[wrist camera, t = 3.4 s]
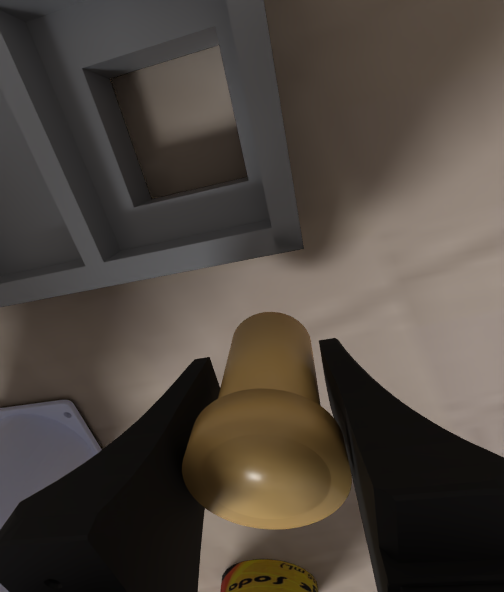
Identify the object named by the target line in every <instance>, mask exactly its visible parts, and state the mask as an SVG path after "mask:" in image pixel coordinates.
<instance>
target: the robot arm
mask: <svg viewBox="0 0 504 592" xmlns="http://www.w3.org/2000/svg"><path fill="white" fill-rule="evenodd" d="M319 344H320V351H321V357H322V363H323V369H324V376H325V382H326V387H327V392H328V397H329V401H330V406H331V410H332V413H333V416H334V419H335V420H336V422H337V423H338V425H339V427H340V429H341V431H342V433H343V437H344V442H345V446H346V451H347V456H348V461H349V465H350V470H351V474H352V478H353V482H354V487H355V491H356V496H357V500H358V504H359V509H360V513H361V518H362V522H363V527H364V531H365V536H366V540H367V545H368V550H369V554H370V559H371V563H372V568H373V573H374V577H375V582H376V586H377V591H378V592H504V458H503V457H501V456H499V455H497V454H495V453H493V452H490V451H488V450H486V449H484V448H482V447H479V446H477V445H475V444H473V443H471V442H468V441H466V440H464V439H462V438H460V437H459V436H457V435H455V434H453V433H451V432H449V431H447V430H445V429H443V428H442V427H440V426H438V425H437V424H435V423H433V422H432V421H430V420H428V419H427V418H425V417H423V416H422V415H420V414H419V413H417V412H415V411H414V410H412V409H411V408H410V407H408V406H407V405H405V404H404V403H402V402H401V401H400V400H398V399H397V398H396V397H394V396H393V395H392V394H391V393H389V392H388V391H387V390H386V389H384V388H383V387H382V386H381V385H380V384H379V383H378V382H376V381H375V380H374V379H373V378H372V377H371V376H370V375H369V374H368V373H367V372H366V371H365V370H364V369H363V368H362V367H361V366H360V365H359V364H358V363H357V362H356V361H355V360H354V359H353V358H352V357H351V356H350V354H349V353H348V352H347V351H346V350H345V348H344V347H343V346H342V344H341V343H340V342H339V340H337V339H336V338H332V339H326V340H319ZM219 392H220V386H219V383H218V381H217V378H216V375H215V372H214V369H213V366H212V363H211V360H210V357H207V358H200V359H195V360H194V361H193V362H192V363H191V364H190V365H189V366H188V367H187V368H186V370H185V371H184V372H183V373H182V374H181V375H180V377H179V378H178V379H177V380H176V381H175V382H174V383H173V384H172V386H171V387H170V388H169V389H168V390H167V391H166V392H165V393H164V395H163V396H162V397H161V398H160V399H159V400H158V401H157V402H156V403H155V404H154V405H153V406H152V407H151V408H150V409H149V410H148V411H147V412H146V413H145V414H144V415H143V416H142V417H141V418H140V419H139V420H138V421H137V422H135V423H134V424H133V425H132V426H131V427H130V428H129V429H127V430H126V431H125V432H124V433H123V434H122V435H120V436H119V437H118V438H117V439H115V440H114V441H113V442H112V443H110V444H109V445H108V446H106V447H105V448H104V449H101V448H100V446H99V444H98V443H97V441H96V439H95V438H94V436H93V435H92V433H91V431H90V430H89V428H88V426H87V425H86V423H85V422H84V420H83V418H82V417H81V415H80V413H79V412H78V410H77V409H76V407H75V405H74V404H73V403H72V402H71V401H69V400H57V401H50V402H42V403H35V404H27V405H20V406H12V407H5V408H0V592H198V578H199V564H200V551H201V540H202V529H203V519H204V510H205V507H203V506H202V505H201V504H200V503H199V502H198V501H197V500H196V499H195V498H194V497H193V496H192V495H191V493H190V492H189V490H188V488H187V487H186V485H185V482H184V479H183V475H182V462H183V458H184V454H185V451H186V448H187V445H188V441H189V438H190V435H191V432H192V428H193V425H194V423H195V421H196V419H197V417H198V416H199V414H200V413H201V412H202V411H203V410H204V409H205V408H206V407H207V406H208V405H209V404H211V403H212V402H213V401H215V400H217V399H218V396H219Z"/></svg>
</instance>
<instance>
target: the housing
mask: <svg viewBox="0 0 504 592" xmlns="http://www.w3.org/2000/svg"><path fill="white" fill-rule="evenodd" d="M217 45H219V47H220V51H221V56H222V60H223V65H224V70H225V74H226V79H227V83H228V88H229V93H230V97H231V102H232V107H233V111H234V116H235V120H236V125H237V130H238V134H239V139H240V143H241V148H242V153H243V157H244V162H245V166H246V171H247V176H248V177H245V178H241V179H236V180H232V181H228V182H224V183H219V184H215V185H211V186H207V187H202V188H198V189H194V190H190V191H185V192H181V193H177V194H173V195H168V196H164V197H160V198H156V199H151V197H150V194H149V191H148V188H147V185H146V182H145V179H144V177H143V174H142V171H141V168H140V165H139V162H138V159H137V157H136V154H135V151H134V148H133V145H132V142H131V139H130V136H129V134H128V131H127V128H126V125H125V122H124V119H123V116H122V114H121V111H120V108H119V105H118V102H117V99H116V96H115V93H114V91H113V88H112V85H111V82H110V78H113V77H116V76H119V75H123V74H126V73H129V72H132V71H136V70H139V69H142V68H146V67H149V66H152V65H155V64H159V63H162V62H165V61H168V60H172V59H175V58H178V57H181V56H185V55H188V54H191V53H194V52H198V51H201V50H204V49H208V48H211V47H214V46H217ZM300 249H304V247H303V241H302V235H301V229H300V223H299V216H298V210H297V204H296V198H295V192H294V185H293V179H292V173H291V167H290V160H289V154H288V148H287V142H286V136H285V129H284V123H283V117H282V111H281V105H280V98H279V92H278V86H277V80H276V74H275V67H274V61H273V55H272V49H271V43H270V36H269V30H268V24H267V18H266V12H265V5H264V0H0V307H4V306H10V305H15V304H20V303H25V302H30V301H36V300H41V299H46V298H51V297H56V296H61V295H67V294H72V293H77V292H82V291H87V290H93V289H98V288H103V287H108V286H113V285H118V284H124V283H129V282H134V281H139V280H144V279H150V278H155V277H160V276H165V275H170V274H175V273H181V272H186V271H191V270H196V269H201V268H207V267H212V266H217V265H222V264H227V263H232V262H238V261H243V260H248V259H253V258H258V257H263V256H269V255H274V254H279V253H284V252H289V251H295V250H300Z"/></svg>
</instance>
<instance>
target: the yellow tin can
mask: <svg viewBox="0 0 504 592" xmlns="http://www.w3.org/2000/svg"><path fill="white" fill-rule="evenodd" d="M221 592H318V587H317V581H316V580H315V579H314V577H313V576H312V575H311V574H310V573H309V572H307V571H306V570H305V569H303V568H301V567H298V566H296V565H294V564H291V563H287V562H283V561H278V560H270V559H255V560H249V561H243V562H240V563H238V564H235V565H233V566H231V567H230V568H229V569H227V570H226V571H225V573H224V574H223V576H222V584H221Z"/></svg>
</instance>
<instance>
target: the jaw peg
mask: <svg viewBox="0 0 504 592" xmlns="http://www.w3.org/2000/svg"><path fill="white" fill-rule="evenodd" d="M182 475H183V479H184V482H185V485H186V487H187V488H188V490H189V492H190V493H191V495H192V496H193V497H194V498H195V499H196V500H197V501H198V502H199V503H200V504H201V505H202V506H203V507H205V508H206V509H207V510H209V511H210V512H212V513H214V514H215V515H217V516H219V517H221V518H223V519H226V520H228V521H231V522H233V523H237V524H240V525H244V526H248V527H253V528H260V529H291V528H297V527H302V526H306V525H309V524H312V523H315V522H318V521H320V520H322V519H324V518H326V517H328V516H329V515H331V514H332V513H334V512H335V511H336V510H337V509H338V508H339V507H340V506H341V505H342V504H343V503H344V501H345V500H346V498H347V497H348V494H349V492H350V489H351V484H352V475H351V470H350V465H349V461H348V456H347V451H346V446H345V442H344V437H343V433H342V431H341V429H340V427H339V425H338V423H337V422H336V420H335V419H334V418H333V417H332V416H331V415H330V413H329V412H327V411H326V410H325V409H324V408H323V407H321V405H320V399H319V392H318V385H317V379H316V372H315V365H314V359H313V352H312V345H311V340H310V336H309V334H308V332H307V330H306V329H305V327H304V326H303V325H302V324H301V323H300V322H299V321H297V320H296V319H294V318H293V317H291V316H288V315H286V314H282V313H277V312H263V313H259V314H256V315H253V316H251V317H249V318H247V319H246V320H244V321H243V322H242V323H241V324H240V325H239V326H238V327H237V329H236V331H235V333H234V335H233V339H232V343H231V347H230V351H229V355H228V359H227V363H226V368H225V372H224V376H223V380H222V384H221V388H220V392H219V396H218V399H217V400H215V401H213V402H212V403H211V404H209V405H208V406H207V407H206V408H205V409H204V410H203V411H202V412H201V413H200V414H199V416H198V417H197V419H196V421H195V423H194V425H193V428H192V432H191V435H190V438H189V441H188V445H187V448H186V451H185V454H184V458H183V462H182Z"/></svg>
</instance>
